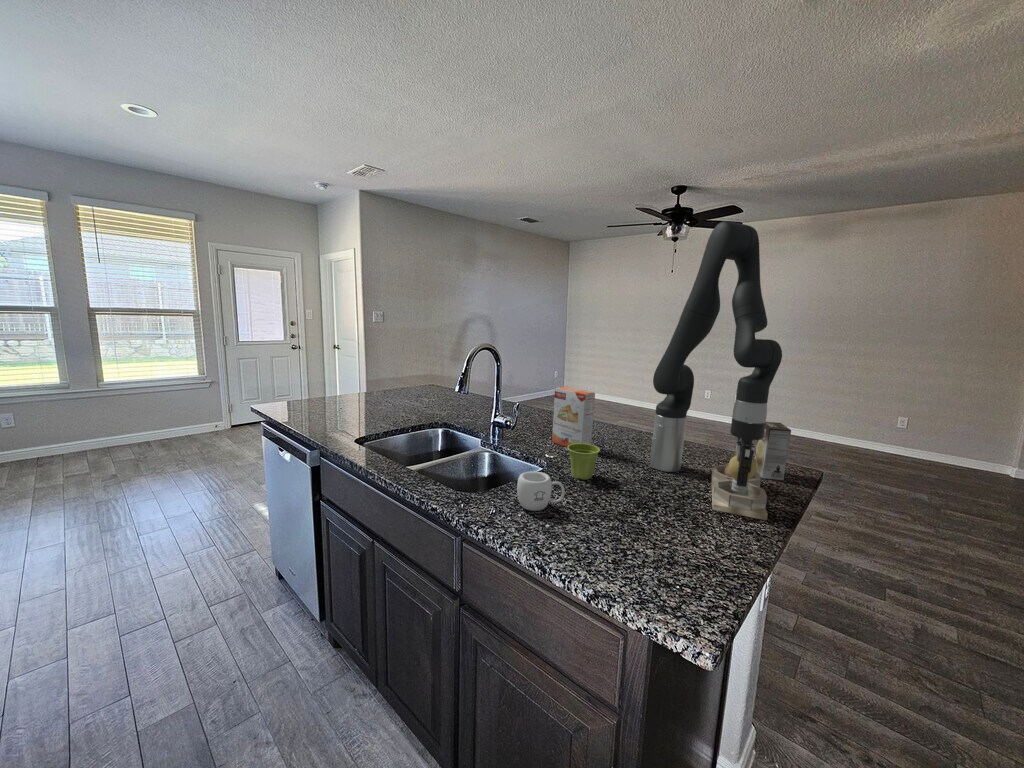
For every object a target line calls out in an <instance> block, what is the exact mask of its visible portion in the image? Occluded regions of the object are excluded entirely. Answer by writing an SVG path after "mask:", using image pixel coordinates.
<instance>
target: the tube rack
mask: <svg viewBox="0 0 1024 768" xmlns="http://www.w3.org/2000/svg"><path fill="white" fill-rule="evenodd" d="M727 465H728V464H721V465H719V464H718V465H714V466H713V467H712V471H711V475H710V478H711V480H710V481H711V499H712V501H711V502H712V503H711V504H712V511H718V512H723V513H726V514H727V513H728V514H733V515H738V516H743V517H747V518H753V519H758V520H763V521H767V520H768V516H769V515H768V511H767V508H766V506H767V500H768V495H767V493H766V490H765V489H764V488H762V487H761V482H762V481H761V480H762V477H761V476H760V475H759V474H758V473H757V472H756V473H755V475H754V476H753V477H752V478H751V479H750V480H749V481H748V483H749V484H748V489H747V490H748V491H747V493H745V494H737V493H735V492H733V491H732V489H731V487H732V483H733V482H732V480H733V479H734V478H733V477H728V476H726V475H725V468H726V466H727Z"/></svg>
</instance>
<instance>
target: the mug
mask: <svg viewBox="0 0 1024 768" xmlns="http://www.w3.org/2000/svg"><path fill="white" fill-rule="evenodd" d="M554 485H558V486H559V487H560V488H561V496H560V497H559V498H558V499H552V498H551V497H552V490H553V489H552V487H553V486H554ZM516 486H517V487H516V488H517V489H516V491H517V493H516V494H517V498H518V502H519V504H520V506H521V507H522V508H523V509H524V510H526V511H532V512H537V511H538V512H539V511H542V510H544V509H545V508H547V506H548V505H549V502H550V503H551V504H552V503H553V504H557V503H560V502H561V501H563V499H564V497H565V487H564V484H563V483H562V482H560V481H557V480H556V481H552V479H551V477H550V475H549V474H547V473H545V472H541V471H534V470H533V471H525V472H523V473H521V474H519V476H518V479H517V485H516Z"/></svg>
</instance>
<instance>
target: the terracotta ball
mask: <svg viewBox="0 0 1024 768" xmlns="http://www.w3.org/2000/svg"><path fill="white" fill-rule="evenodd" d="M726 465H727V466H726V468H725V475H726V476H728V477H733V476H732V475H731V473H730V471H729V463H728V464H726Z"/></svg>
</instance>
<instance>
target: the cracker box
mask: <svg viewBox="0 0 1024 768" xmlns="http://www.w3.org/2000/svg"><path fill="white" fill-rule="evenodd" d="M595 397H596V392H594V391H588V390H583V389H579V388H576V387H575V388H574V387H569V386H558V387H555V388H554V402H553V403H554V404H553V419H552V421H553V422H552V437H551V438H552V439H551V441H552V443H554V444H558V445H560V446H563V447H566V448H567V447H568V446H569V445H571V444H577V443H580V444H590V445H592V441H593V439H592V438H593V428H594V427H593V426H594V412H595Z"/></svg>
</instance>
